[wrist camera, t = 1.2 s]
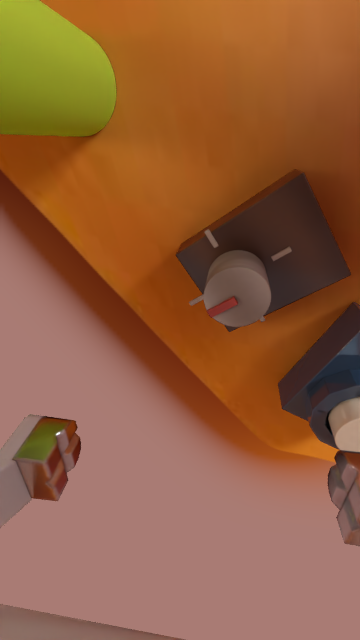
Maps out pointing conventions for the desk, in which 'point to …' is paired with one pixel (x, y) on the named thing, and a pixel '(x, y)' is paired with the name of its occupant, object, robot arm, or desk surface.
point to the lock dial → (237, 289)
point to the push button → (325, 375)
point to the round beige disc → (346, 424)
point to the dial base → (273, 242)
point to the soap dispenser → (51, 74)
